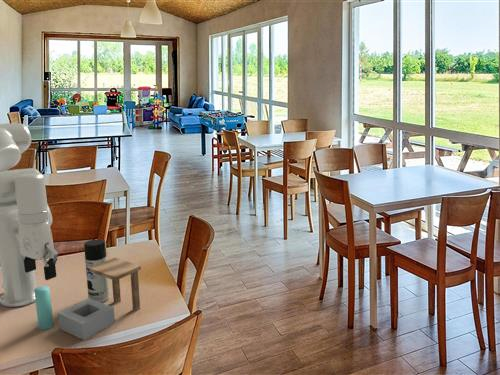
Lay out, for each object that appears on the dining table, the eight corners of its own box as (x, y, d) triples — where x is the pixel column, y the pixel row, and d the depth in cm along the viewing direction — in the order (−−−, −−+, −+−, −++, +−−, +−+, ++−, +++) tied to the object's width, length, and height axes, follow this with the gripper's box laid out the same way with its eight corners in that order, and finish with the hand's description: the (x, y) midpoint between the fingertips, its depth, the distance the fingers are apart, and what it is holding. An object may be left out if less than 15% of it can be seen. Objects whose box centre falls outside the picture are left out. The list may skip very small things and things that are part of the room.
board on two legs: (92, 311, 142) (89, 268, 139) (117, 298, 150) (114, 257, 147) (118, 321, 136) (115, 277, 132) (143, 308, 144) (140, 265, 140)
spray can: (84, 299, 149) (79, 242, 145) (102, 292, 155) (97, 237, 150) (96, 305, 145) (91, 247, 141) (113, 298, 151) (109, 241, 146)
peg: (35, 327, 133) (31, 290, 130) (48, 321, 136) (44, 284, 133) (43, 331, 130) (39, 293, 128) (56, 325, 134) (52, 288, 131)
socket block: (59, 328, 132) (58, 313, 131) (91, 312, 141) (89, 298, 140) (84, 340, 126) (82, 323, 125) (115, 322, 135) (113, 307, 134)
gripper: (3, 215, 127) (11, 272, 131) (39, 225, 118) (46, 286, 121) (28, 209, 133) (35, 264, 137) (64, 218, 124) (70, 276, 128)
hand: (40, 274), depth 129 cm, fingers open, 9 cm apart
